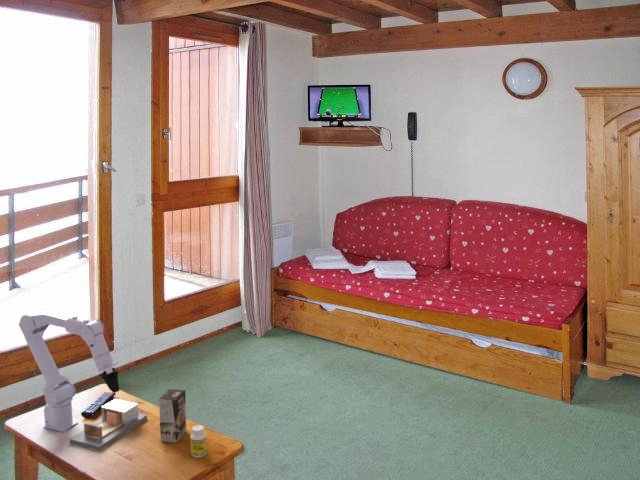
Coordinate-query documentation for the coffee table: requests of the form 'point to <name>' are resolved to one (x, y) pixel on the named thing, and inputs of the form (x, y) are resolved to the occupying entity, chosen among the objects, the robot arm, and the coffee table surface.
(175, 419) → the coffee box
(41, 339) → the robot arm
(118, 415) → the block
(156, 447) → the coffee table surface
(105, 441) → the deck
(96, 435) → the sled
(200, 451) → the supplement bottle
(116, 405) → the tunnel
